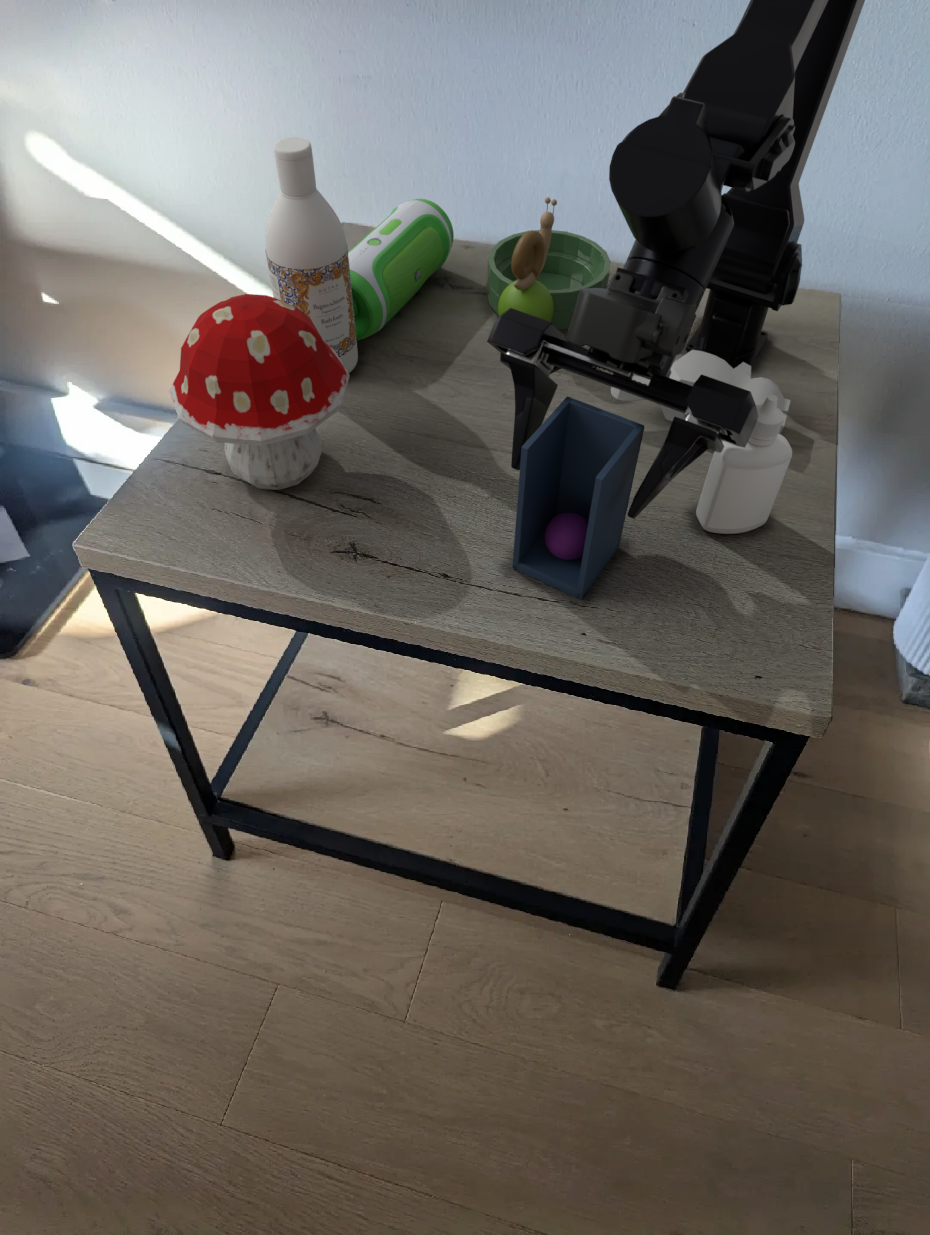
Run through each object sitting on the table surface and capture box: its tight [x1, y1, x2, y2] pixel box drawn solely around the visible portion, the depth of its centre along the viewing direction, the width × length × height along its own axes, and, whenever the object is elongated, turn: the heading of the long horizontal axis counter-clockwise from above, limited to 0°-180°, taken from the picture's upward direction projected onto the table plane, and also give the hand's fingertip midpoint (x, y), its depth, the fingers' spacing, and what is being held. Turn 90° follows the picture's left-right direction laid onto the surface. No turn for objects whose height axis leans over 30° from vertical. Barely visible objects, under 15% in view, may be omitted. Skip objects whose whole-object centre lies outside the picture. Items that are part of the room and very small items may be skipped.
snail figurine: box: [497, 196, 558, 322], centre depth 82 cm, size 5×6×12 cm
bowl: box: [486, 229, 612, 330], centre depth 89 cm, size 12×12×4 cm
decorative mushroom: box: [168, 293, 350, 491], centre depth 68 cm, size 14×14×15 cm
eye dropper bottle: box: [695, 395, 793, 535], centre depth 66 cm, size 4×6×12 cm
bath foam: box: [264, 136, 359, 374], centre depth 75 cm, size 7×7×20 cm
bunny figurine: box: [610, 350, 791, 434], centre depth 77 cm, size 10×5×15 cm
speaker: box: [348, 198, 455, 341], centre depth 87 cm, size 18×7×8 cm, turn 155°
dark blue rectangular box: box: [512, 396, 646, 600], centre depth 63 cm, size 6×6×12 cm
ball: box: [545, 512, 588, 560], centre depth 66 cm, size 4×4×4 cm
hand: (571, 492), depth 61 cm, fingers open, 9 cm apart
